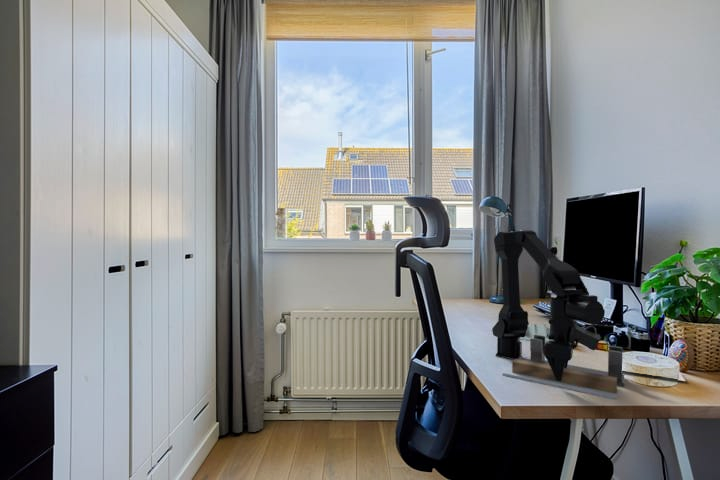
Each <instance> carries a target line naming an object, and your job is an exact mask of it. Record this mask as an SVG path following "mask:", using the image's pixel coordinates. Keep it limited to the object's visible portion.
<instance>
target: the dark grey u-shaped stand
mask: <svg viewBox="0 0 720 480" xmlns="http://www.w3.org/2000/svg"><path fill="white" fill-rule="evenodd" d="M529 343H530V345H529V346H530V350H529V351H530V362H535V363H541V364H546V365H549V363H548V361H547V360H546V357H545V356H544V354H543V346H544V344H545V343H546V342H545V336H541V335H534V339H533V338H531V339H530V341H529ZM623 349H624V348H623V347H622V346H617V345H616V346H615V345H608V351H607V352H608V356H607V358H608V360H607V371H605V370H600V369H595V368H589V367H583V366H579V365H571V364H568V365H567V368H568V369H573V370H579V371H584V372H589V373H595V374H600V375H606V376H611V377H616V378H617V387H625V374H623V372H622V364H623Z"/></svg>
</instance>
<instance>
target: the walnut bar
mask: <svg viewBox="0 0 720 480" xmlns="http://www.w3.org/2000/svg"><path fill="white" fill-rule="evenodd" d="M530 361H531V360H530ZM530 361H529V360H524V359H519V358H518V359H512V362H511V364H512V365H511V366H512V372H513V373H518V374H522V375H527V376H532V377H537V378H542V379H547V380H552V381H557V380H556V378H555V376H554V374H553V371H552V369H551V367H550V365H546V364H541V363H535V362H530ZM557 382H561V383H566V384H571V385H576V386H581V387H586V388H591V389H596V390H600V391H605V392H610V393H615V394H616V395H617V391H618V389H617V387H618V386H617V378H616V377H611V376H606V375H600V374H595V373H589V372H584V371H579V370H573V369H568V368H564V371H563V375H562V380H561V381H557Z"/></svg>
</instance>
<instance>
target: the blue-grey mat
mask: <svg viewBox="0 0 720 480" xmlns="http://www.w3.org/2000/svg"><path fill="white" fill-rule="evenodd" d="M502 376H506V377H511V378H514V379H519V380H524V381H528V382H534V383H539V384H543V385H547V386H552V387H556V388H557V387H558V388H561V389H562V388H563V389H567V390H572V391H576V392H581V393H585V394H586V393H587V394H590V395H595V396H598V397H599V396H601V397H603V398H608V399H612V400H613V399H615V400H617V393H616V394H615V393H610V392H605V391H600V390H596V389H591V388H586V387H581V386H576V385H571V384H566V383H561V382H557V381H552V380H547V379H542V378H537V377H532V376H527V375H522V374H518V373H513V372H512V365H508V366H507V367H506V369H505V370H504V371H503V372H502Z"/></svg>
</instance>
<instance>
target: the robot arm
mask: <svg viewBox="0 0 720 480" xmlns="http://www.w3.org/2000/svg"><path fill="white" fill-rule="evenodd" d="M493 238H494V239H493V243H494V250H495V252H496V254H497V256H498V257H499V259H500V261H501V275H502V276H501V278H502V279H501V281H502V298H503V299H502V301H503V304H502V307H501V309H500V310H499V312H498V321H497V322H496V323H495V324H494V325H493V327H492V329H491V331H492V335H493V336H494V337H496V338H497V344H496V345H497V347H496V351H497V352H496V353H495V356H496V357H499V358H504V359H505V358H506V359H509V360H510V359H511V360H514V359H519V358H520V357H521V356H522V355H523V352H522V351H523V348H522V347H523V343H522V341H521V340H520V337H525V334H526V331H527V328H528V324H530V321H529V313H528V311H527V310H524V308H523V306H521V294H520V275H519V274H520V272H519V259H520V256H521V255H522V253H523V251H524V250H525V252H527V253H528V255H529V256H530V257H531V258H532V259H533V260H534V262H535V263H536V264H537V265H538V267H540V269H541V271H542V273H541V274H542V275H541V276H542V277H541V278H543V280H544V282H545V283H546V285H547V288H549V290H547V291H546V292H544V296H545V297H549V298H550V302H549V303H550V307H549V308H550V310H549V311H550V312H549V314H550V315H549V319H548V325H549V327H550V334H549V335H548V339H549V341H548V342H545V344H544V346H543V354H544V356H545V360H546V361H548V363H549V365H550V367H551V369H552V371H553V374H554V376H555V378H556V380H557V381H561V380H562V375H563V371H564V368H567V365H569V361H571V360H572V358H573V353H574V349H576V348H577V347H578V345H579V344H580V345H583V347H584V346H585V347H587V348H588V349H589V350H591V351H596V349H597V347H598V345H599V343H600V340H601V338H602V337H601V335H600V334H599V333H597V328H596V327H595V326H597V325H598V324H600V323H601V322H602V321H603V320H604V317H605V313H606V310H605V309H604V306H603V304H602V303H601V302H600V301H598V299H599V298H598V296H597V295H590V292H589V291H588V288H587V287H586V286H585V283H584V282H583V280H582V278H581V274H580V272H579V271H578V270H577V269H576V268H575V267H574V266H572V265H571V264H569V263H567V262H566V261H564V260H560V259H559V258H558V257H556V255H555V254H554V253H553V252H552V251H551V249H550V248H549V247H548V246H547V245H545V243H544V242H543V241H542V240H541V239H540V238H539V236H538V235H537V232H536V231H533V230H531V229H529V230H528V229H523V230H522V229H520V230H518V231H517V230H516V231H499V232H497V234H496V235H495V236H494V237H493ZM578 322H582V323H585V324H587V325H589V326H587V327H586V328H585V327H581V326H580V325H578ZM551 340H554V341H551Z"/></svg>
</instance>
